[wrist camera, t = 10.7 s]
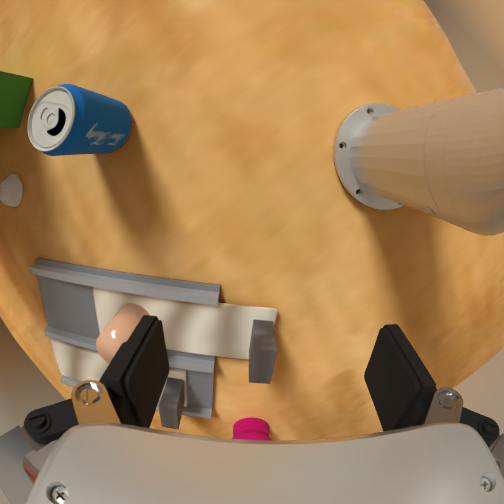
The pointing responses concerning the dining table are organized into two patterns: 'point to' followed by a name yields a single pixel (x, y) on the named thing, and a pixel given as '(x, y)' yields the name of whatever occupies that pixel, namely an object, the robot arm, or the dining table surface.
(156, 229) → the dining table surface
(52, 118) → the beverage can
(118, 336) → the light brown rounded piece
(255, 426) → the pepper mill
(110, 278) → the track board
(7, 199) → the chalice
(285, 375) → the dining table surface
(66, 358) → the strip
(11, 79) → the hardback book
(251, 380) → the strip
